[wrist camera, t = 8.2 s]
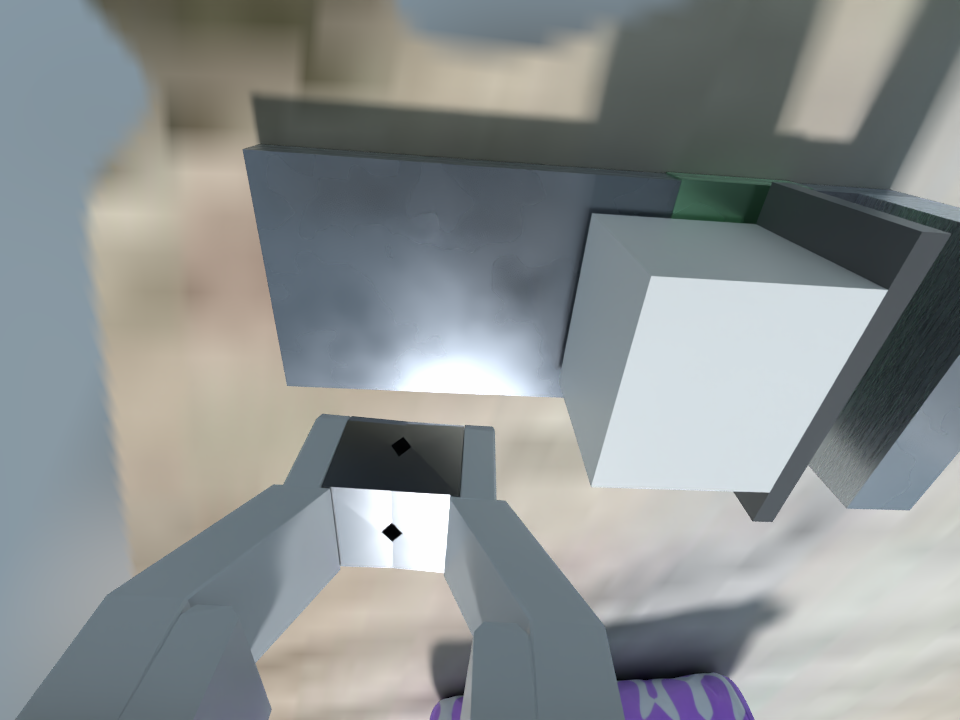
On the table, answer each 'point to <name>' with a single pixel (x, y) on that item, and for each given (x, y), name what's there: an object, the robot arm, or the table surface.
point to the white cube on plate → (731, 340)
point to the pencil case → (659, 700)
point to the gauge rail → (555, 289)
